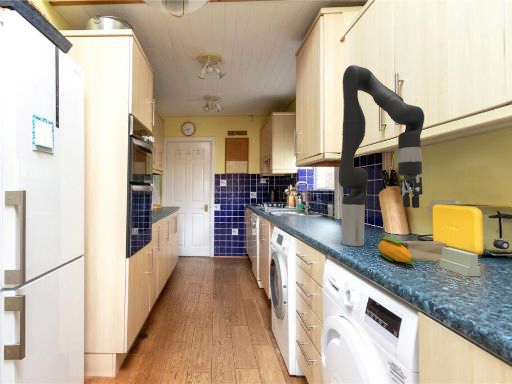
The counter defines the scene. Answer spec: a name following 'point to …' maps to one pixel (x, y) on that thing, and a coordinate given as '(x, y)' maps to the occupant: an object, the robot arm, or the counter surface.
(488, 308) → the counter surface
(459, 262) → the grey rectangular block
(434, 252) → the oak bar
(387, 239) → the corn
